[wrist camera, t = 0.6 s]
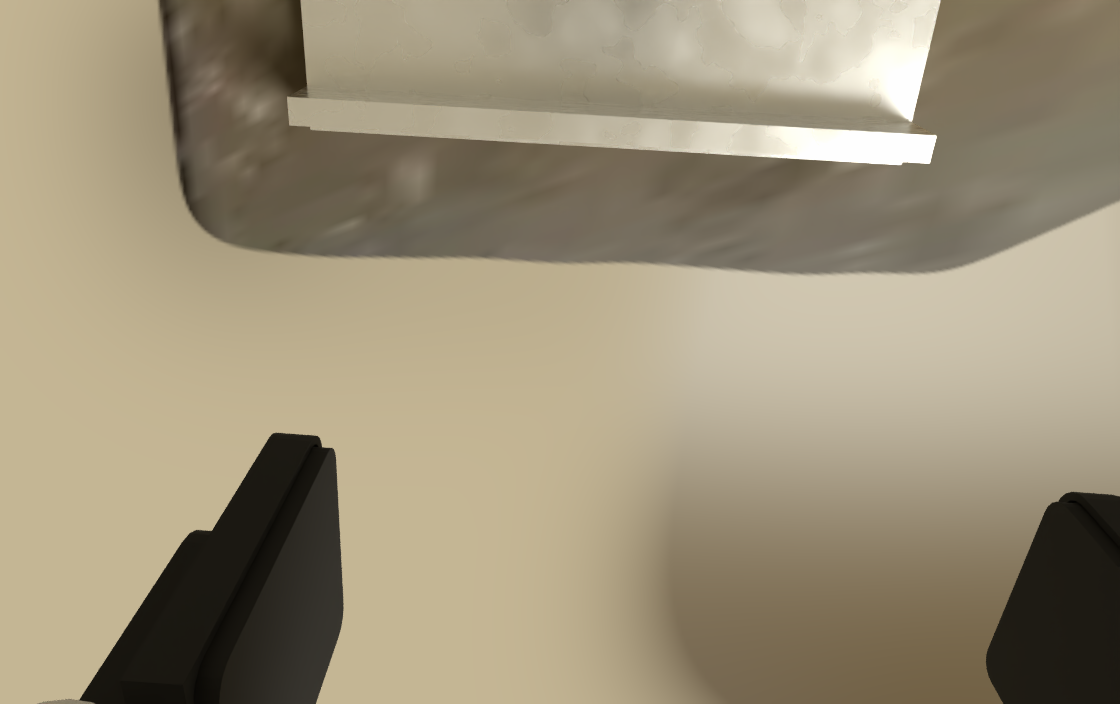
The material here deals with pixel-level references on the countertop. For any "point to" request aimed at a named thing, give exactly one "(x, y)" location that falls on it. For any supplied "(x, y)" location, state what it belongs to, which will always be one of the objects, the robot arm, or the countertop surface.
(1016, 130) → the countertop surface
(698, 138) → the aluminium track
